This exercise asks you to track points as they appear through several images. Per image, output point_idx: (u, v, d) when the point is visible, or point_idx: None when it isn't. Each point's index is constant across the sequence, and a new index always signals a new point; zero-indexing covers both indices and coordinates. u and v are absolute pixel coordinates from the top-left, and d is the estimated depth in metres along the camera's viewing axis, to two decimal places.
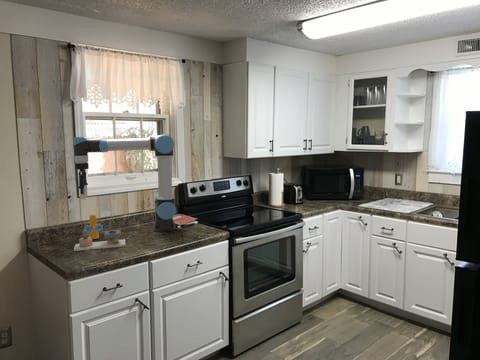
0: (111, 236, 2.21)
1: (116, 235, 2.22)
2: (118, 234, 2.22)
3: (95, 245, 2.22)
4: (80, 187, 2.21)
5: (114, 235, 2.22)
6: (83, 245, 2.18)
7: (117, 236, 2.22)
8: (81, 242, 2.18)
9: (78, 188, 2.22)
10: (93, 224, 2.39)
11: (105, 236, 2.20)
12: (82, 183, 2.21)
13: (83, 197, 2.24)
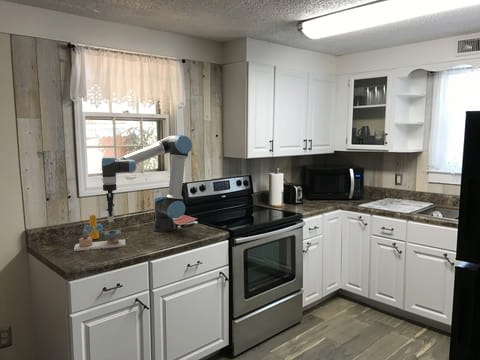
0: (111, 236, 2.21)
1: (116, 235, 2.22)
2: (118, 234, 2.22)
3: (95, 245, 2.22)
4: (109, 210, 2.14)
5: (114, 235, 2.22)
6: (83, 245, 2.18)
7: (117, 236, 2.22)
8: (81, 242, 2.18)
9: None
10: (93, 224, 2.39)
11: (105, 236, 2.20)
12: (111, 205, 2.15)
13: (111, 220, 2.18)
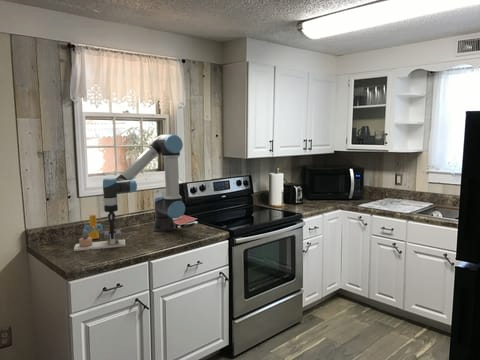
0: None
1: (116, 235, 2.22)
2: (118, 234, 2.22)
3: (95, 245, 2.22)
4: (111, 232, 2.18)
5: None
6: (83, 245, 2.18)
7: (117, 236, 2.22)
8: (81, 242, 2.18)
9: None
10: (93, 224, 2.39)
11: (105, 236, 2.20)
12: (112, 228, 2.18)
13: (113, 242, 2.21)
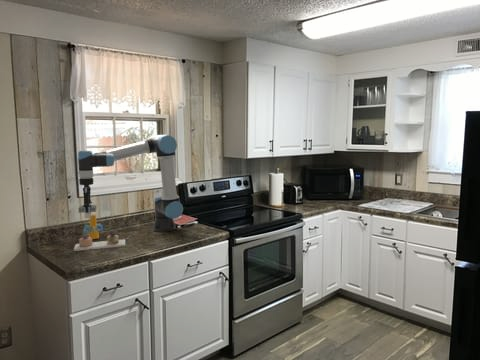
0: None
1: (91, 209, 2.16)
2: (93, 208, 2.17)
3: (95, 245, 2.22)
4: (85, 206, 2.12)
5: None
6: (83, 245, 2.18)
7: (92, 210, 2.17)
8: (81, 242, 2.18)
9: None
10: (93, 224, 2.39)
11: (79, 210, 2.14)
12: (87, 202, 2.12)
13: (88, 216, 2.15)
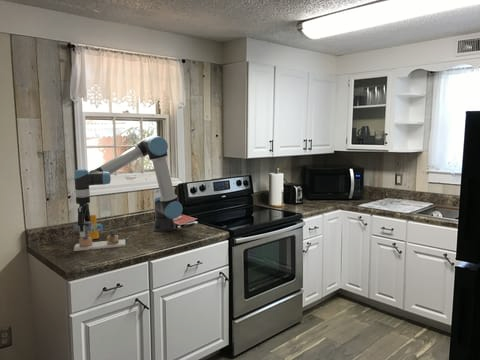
0: None
1: (86, 228, 2.16)
2: (88, 227, 2.17)
3: (95, 245, 2.22)
4: (79, 225, 2.12)
5: None
6: (83, 245, 2.18)
7: (87, 229, 2.17)
8: (81, 242, 2.18)
9: None
10: None
11: (75, 228, 2.16)
12: (81, 221, 2.12)
13: (83, 235, 2.16)
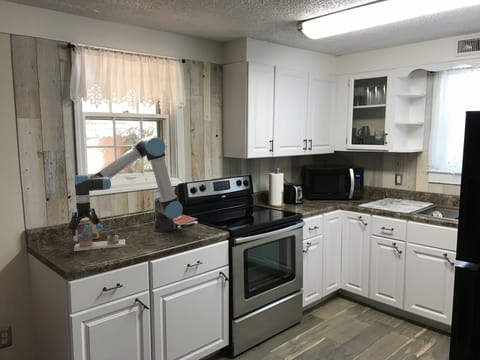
0: (78, 238, 2.18)
1: (81, 238, 2.16)
2: (83, 238, 2.16)
3: (95, 245, 2.22)
4: None
5: (80, 238, 2.17)
6: (83, 245, 2.18)
7: (82, 239, 2.16)
8: (81, 242, 2.18)
9: None
10: None
11: None
12: (71, 225, 2.12)
13: (75, 239, 2.15)
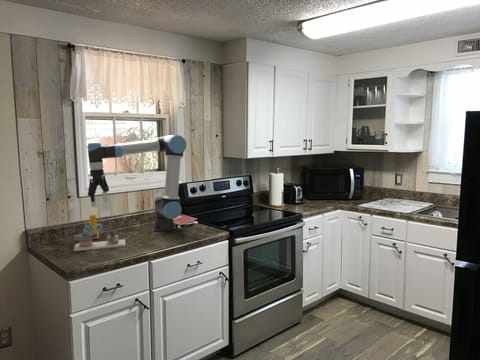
0: (78, 238, 2.18)
1: (81, 238, 2.16)
2: (83, 238, 2.16)
3: (95, 245, 2.22)
4: (89, 195, 2.16)
5: (80, 238, 2.17)
6: (83, 245, 2.18)
7: (82, 239, 2.16)
8: (81, 242, 2.18)
9: None
10: (93, 224, 2.39)
11: (74, 237, 2.19)
12: (91, 191, 2.16)
13: (94, 205, 2.19)
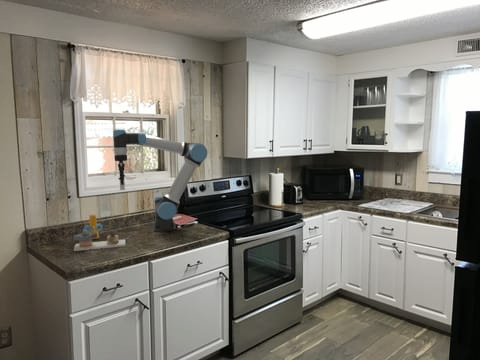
0: (78, 238, 2.18)
1: (81, 238, 2.16)
2: (83, 238, 2.16)
3: (95, 245, 2.22)
4: (121, 178, 2.27)
5: (80, 238, 2.17)
6: (83, 245, 2.18)
7: (82, 239, 2.16)
8: (81, 242, 2.18)
9: None
10: (93, 224, 2.39)
11: (74, 237, 2.19)
12: (122, 174, 2.27)
13: (123, 188, 2.30)
